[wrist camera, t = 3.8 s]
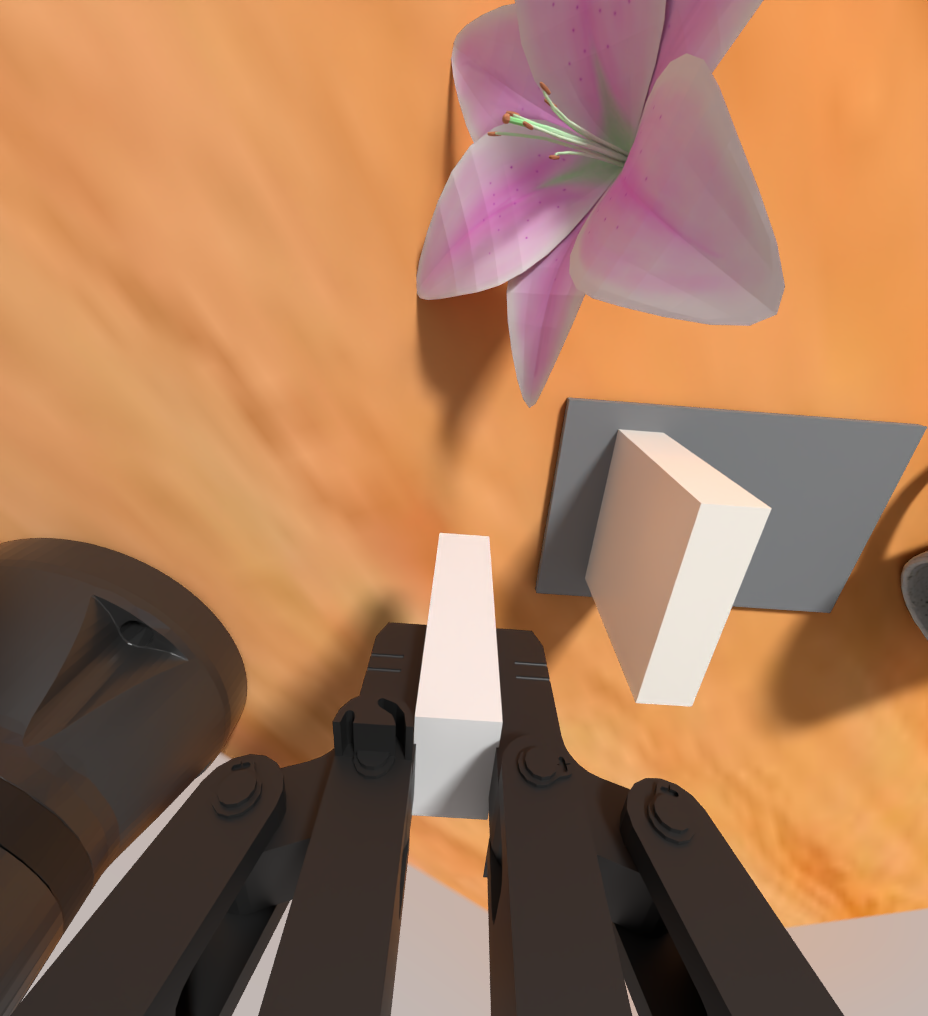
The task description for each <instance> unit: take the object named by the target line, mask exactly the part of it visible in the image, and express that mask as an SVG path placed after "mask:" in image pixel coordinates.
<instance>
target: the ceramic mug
mask: <svg viewBox="0 0 928 1016" xmlns="http://www.w3.org/2000/svg"><path fill="white" fill-rule="evenodd" d="M901 589H902V594H903V598H904V600H905V603H906V606H907V608H908V610H909V612H910V614H911V616H912V618H913V620H914V622H915V623H916V625H917V626H918V627H919V628H920V630H921V632H922V633H923V635H924V636H925V638H926V639H927V640H928V551H926V552H923V553H921V554H919V555H917V556H914V557H913V558H912V559H910V560H909V561H908V562H907V563H906V564H905V565H904V567H903V571H902V574H901Z"/></svg>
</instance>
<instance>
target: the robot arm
mask: <svg viewBox="0 0 928 1016" xmlns="http://www.w3.org/2000/svg"><path fill="white" fill-rule="evenodd" d="M546 664H547V663H546V658H545V653H544V649H543V646H542V644H541V643H540V641H539V640H538V639H537V637H536V636H535V635H534V633H533V632H532V631H526V630H512V629H497V628H496V624H495V610H494V596H493V582H492V569H491V555H490V541H489V536H476V535H462V534H448V533H440V535H439V542H438V549H437V557H436V564H435V572H434V579H433V586H432V594H431V601H430V608H429V616H428V623H427V625H419V624H405V623H390V622H389V623H388V624H387V625H386V626H385V627H384V628H383V629H382V631H381V632H380V633H379V634H378V635H377V636H376V639H375V643H374V646H373V650H372V654H371V657H370V660H369V664H368V669H367V671H366V675H365V678H364V682H363V685H362V689H361V692H360V696H358V697H356V698H353V699H351V700H350V701H349V702H348V703H346V704H345V705H344V706H343V707H342V708H340V710H339V711H338V713H337V715H336V717H335V718H334V720H333V734H334V749H333V750H332V751H330V752H329V753H327V754H325V755H323V756H322V757H320V758H317V759H314V760H311V761H308V762H304V763H300V764H296V765H292V766H288V767H284V768H279V766H278V764H277V762H275V761H273V760H272V759H270V758H268V757H267V756H262V755H253V754H250V755H245V756H241V757H237V758H233V759H231V760H230V761H228V762H226V763H224V764H222V765H220V766H219V767H217V768H216V769H215V770H214V771H213V772H211V773H210V775H208V776H207V777H206V778H205V779H204V780H203V781H202V782H201V783H200V785H199V786H198V787H197V788H196V790H195V791H194V792H193V793H192V794H191V796H190V797H189V798H188V799H187V800H186V802H185V803H184V804H183V805H182V807H181V808H180V809H179V810H178V811H177V813H176V814H175V815H174V816H173V817H172V819H171V820H170V821H169V823H168V824H167V825H166V826H165V827H164V828H163V830H162V831H161V832H160V833H159V835H158V836H157V837H156V838H155V839H154V841H153V842H152V843H151V844H150V846H149V847H148V848H147V849H146V850H145V852H144V853H143V854H142V856H141V857H140V858H139V859H138V860H137V862H136V863H135V864H134V865H133V866H132V868H131V869H130V870H129V871H128V873H127V874H126V875H125V876H124V877H123V879H122V880H121V881H120V882H119V883H118V885H117V886H116V887H115V888H114V890H113V891H112V892H111V893H110V894H109V896H108V897H107V898H106V899H105V900H104V902H103V903H102V904H101V905H100V907H99V908H98V909H97V910H96V911H95V913H94V914H93V915H92V916H91V918H90V919H89V920H88V921H87V922H86V924H85V925H84V926H83V927H82V929H81V930H80V931H79V932H78V934H77V935H76V936H75V937H74V938H73V940H72V941H71V942H70V944H68V946H67V947H66V948H65V949H64V950H63V952H62V953H61V954H60V955H59V957H58V958H57V959H56V960H55V962H54V963H53V964H52V965H51V966H50V968H49V969H48V970H47V971H46V972H45V974H44V975H43V976H42V977H41V979H40V980H39V981H38V982H37V983H36V985H35V986H34V987H33V988H32V990H31V991H30V992H29V993H28V995H27V996H26V997H25V998H24V999H23V997H24V996H25V994H26V993H27V991H28V990H29V988H30V986H31V985H32V983H33V982H34V980H35V978H36V977H37V975H38V974H39V972H40V971H41V969H42V967H43V966H44V964H45V963H46V961H47V960H48V958H49V956H50V955H51V953H52V952H53V950H54V948H55V947H56V945H57V944H58V942H59V940H60V939H61V937H62V935H63V934H64V932H65V931H66V929H67V928H68V926H69V925H70V923H71V922H72V920H73V918H74V917H75V915H76V914H77V912H78V911H79V909H80V907H81V906H82V904H83V903H84V901H85V900H86V898H87V896H88V895H89V893H90V892H91V890H92V889H93V887H94V886H95V884H96V883H97V881H98V879H99V878H100V877H101V875H102V874H103V873H104V871H105V870H106V869H107V868H108V867H109V865H110V864H111V863H112V862H113V861H114V860H115V859H116V858H117V857H118V856H119V855H120V854H121V853H122V852H123V851H124V850H125V849H126V848H127V847H128V846H129V845H130V844H131V843H132V842H133V841H134V840H135V839H136V838H137V837H138V836H139V835H140V834H141V833H143V832H144V830H146V829H147V827H149V826H150V825H151V824H152V823H153V822H154V821H155V820H156V819H157V818H158V817H159V816H160V815H161V814H162V812H164V811H165V809H166V808H167V807H168V806H169V805H170V804H171V803H172V802H173V801H174V800H175V799H176V798H177V797H178V796H179V795H180V794H181V793H182V792H183V791H184V790H185V789H186V788H187V787H188V786H189V785H190V783H191V782H192V781H193V780H194V779H196V778H197V777H198V776H200V775H201V774H202V773H203V772H204V771H205V770H206V769H207V768H208V767H209V766H210V765H211V764H212V762H213V761H214V760H215V758H216V757H217V756H218V755H219V753H220V752H221V750H222V749H223V747H224V745H225V743H226V741H227V740H228V738H229V736H230V734H231V732H232V731H233V729H234V727H235V725H236V723H237V721H238V720H239V718H240V716H241V714H242V711H243V709H244V705H245V701H246V696H247V679H246V672H245V668H244V664H243V661H242V658H241V656H240V653H239V651H238V649H237V647H236V645H235V643H234V641H233V639H232V638H231V636H230V635H229V633H228V631H227V630H226V629H225V627H224V626H223V625H222V623H221V622H220V621H219V620H218V618H217V617H216V616H215V615H214V614H213V613H212V612H211V611H210V610H209V608H208V607H207V606H206V605H204V604H203V603H202V602H201V601H200V600H199V599H198V598H197V597H196V596H194V595H193V594H192V593H191V592H190V591H188V590H187V589H186V588H184V587H183V586H182V585H180V584H179V583H178V582H176V581H175V580H173V579H172V578H170V577H169V576H167V575H165V574H163V573H162V572H160V571H158V570H157V569H155V568H153V567H151V566H149V565H147V564H145V563H143V562H141V561H139V560H137V559H134V558H132V557H130V556H127V555H124V554H122V553H119V552H116V551H113V550H110V549H107V548H104V547H100V546H97V545H93V544H88V543H84V542H78V541H72V540H65V539H53V538H30V539H20V540H14V541H8V542H4V543H1V544H0V1016H232V1014H233V1012H234V1010H235V1008H236V1006H237V1004H238V1002H239V1000H240V998H241V996H242V994H243V992H244V990H245V988H246V986H247V984H248V982H249V980H250V978H251V976H252V975H253V973H254V971H255V969H256V967H257V964H258V963H259V961H260V959H261V956H262V954H263V953H264V951H265V949H266V947H267V945H268V943H269V941H270V939H271V937H272V935H273V933H274V931H275V929H276V927H277V925H278V923H279V921H280V919H281V917H282V915H283V913H284V911H285V909H286V907H287V905H288V903H289V901H290V900H292V899H293V900H292V903H291V907H290V910H289V913H288V917H287V920H286V924H285V927H284V930H283V934H282V937H281V940H280V944H279V947H278V950H277V954H276V957H275V961H274V964H273V967H272V971H271V974H270V978H269V981H268V985H267V988H266V991H265V994H264V998H263V1001H262V1005H261V1008H260V1012H259V1015H258V1016H391V1007H392V998H393V989H394V980H395V971H396V962H397V953H398V944H399V935H400V926H401V917H402V908H403V899H404V890H405V881H406V871H407V863H408V854H409V836H410V826H411V817H412V815H419V816H435V817H451V818H467V819H484V820H487V819H488V813H489V828H490V838H489V844H488V850H487V856H486V862H485V868H484V875H483V877H488V914H489V950H490V951H489V954H490V993H491V1016H632V1013H631V1008H630V1004H629V999H628V995H627V990H626V986H625V982H626V985H627V988H628V990H629V993H630V995H631V998H632V1000H633V1003H634V1005H635V1007H636V1010H637V1013H638V1015H639V1016H844V1015H843V1013H842V1012H841V1011H840V1009H839V1007H838V1006H837V1004H836V1003H835V1002H834V1000H833V999H832V997H831V996H830V994H829V993H828V991H827V990H826V988H825V987H824V985H823V984H822V982H821V981H820V979H819V978H818V976H817V975H816V973H815V972H814V971H813V969H812V968H811V966H810V965H809V963H808V962H807V960H806V959H805V957H804V956H803V955H802V953H801V951H800V950H799V948H798V947H797V945H796V944H795V942H794V941H793V940H792V938H791V936H790V935H789V933H788V932H787V931H786V929H785V928H784V926H783V925H782V923H781V922H780V920H779V919H778V917H777V916H776V914H775V913H774V911H773V910H772V908H771V907H770V905H769V904H768V902H767V901H766V899H765V898H764V897H763V895H762V894H761V892H760V891H759V889H758V888H757V886H756V885H755V883H754V882H753V880H752V879H751V877H750V876H749V874H748V873H747V871H746V870H745V868H744V867H743V865H742V864H741V863H740V861H739V860H738V858H737V857H736V855H735V854H734V852H733V851H732V849H731V848H730V846H729V845H728V843H727V842H726V840H725V839H724V837H723V836H722V834H721V833H720V831H719V830H718V829H717V827H716V826H715V824H714V823H713V821H712V820H711V818H710V817H709V815H708V814H707V812H706V811H705V810H704V808H703V807H702V806H701V805H700V804H699V803H698V802H697V800H696V799H695V798H694V797H693V796H692V795H691V794H689V793H688V792H687V791H685V790H684V789H682V788H681V787H679V786H678V785H677V784H674V783H671V782H668V781H666V780H663V779H658V778H645V779H643V780H641V781H639V782H637V783H635V784H634V785H633V787H632V788H631V790H630V789H628V788H625V787H622V786H620V785H617V784H614V783H612V782H609V781H607V780H604V779H601V778H599V777H597V776H595V775H593V774H591V773H589V772H588V771H587V770H585V769H584V768H583V767H581V766H580V765H579V764H578V763H577V762H576V761H575V760H574V759H573V758H572V756H571V755H570V754H569V752H568V751H567V749H566V747H565V745H564V742H563V739H562V737H561V732H560V727H559V722H558V717H557V712H556V707H555V702H554V698H553V693H552V688H551V683H550V681H549V673H548V668H547V667H546ZM624 980H625V981H624ZM22 999H23V1001H22ZM21 1001H22V1002H21ZM20 1002H21V1003H20Z"/></svg>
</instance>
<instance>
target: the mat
mask: <svg viewBox="0 0 928 1016" xmlns="http://www.w3.org/2000/svg"><path fill="white" fill-rule="evenodd" d="M926 428H927V427H926V426H922V425H919V424H907V423H894V422H881V421H868V420H855V419H842V418H829V417H816V416H803V415H790V414H777V413H763V412H750V411H737V410H724V409H711V408H698V407H685V406H672V405H659V404H646V403H633V402H620V401H606V400H593V399H580V398H567V404H566V410H565V415H564V421H563V427H562V433H561V439H560V445H559V451H558V457H557V463H556V469H555V474H554V480H553V486H552V492H551V498H550V504H549V510H548V516H547V522H546V528H545V534H544V539H543V545H542V551H541V557H540V563H539V569H538V575H537V581H536V587H535V589H536V593H543V594H558V595H573V596H587V597H592V594H591V592H590V589H589V587H588V585H587V582H586V580H585V576H586V571H587V567H588V562H589V558H590V553H591V549H592V544H593V540H594V535H595V531H596V527H597V522H598V518H599V513H600V509H601V504H602V500H603V495H604V491H605V486H606V482H607V477H608V473H609V468H610V464H611V459H612V455H613V451H614V446H615V442H616V437H617V433H618V429H621V430H635V431H648V432H661V433H665V434H666V435H668V436H669V437H670V438H672V439H673V440H675V441H676V442H678V443H679V444H680V445H682V446H683V447H685V448H686V449H688V450H689V451H690V452H692V453H693V454H695V455H696V456H698V457H699V458H700V459H702V460H703V461H705V462H706V463H708V464H709V465H710V466H712V467H713V468H715V469H716V470H718V471H719V472H720V473H722V474H723V475H725V476H726V477H728V478H729V479H730V480H732V481H733V482H735V483H736V484H738V485H739V486H740V487H742V488H743V489H745V490H746V491H748V492H749V493H750V494H752V495H753V496H755V497H756V498H758V499H759V500H760V501H762V502H763V503H765V504H766V505H768V506H769V507H770V508H772V509H771V511H770V514H769V516H768V519H767V521H766V524H765V526H764V529H763V531H762V534H761V536H760V538H759V541H758V543H757V546H756V548H755V551H754V553H753V556H752V558H751V561H750V563H749V566H748V568H747V571H746V573H745V576H744V578H743V581H742V583H741V586H740V588H739V591H738V593H737V596H736V598H735V601H734V603H733V605H732V606H735V607H750V608H765V609H779V610H794V611H809V612H824V613H830V612H831V610H832V608H833V607H834V605H835V603H836V601H837V599H838V597H839V595H840V593H841V591H842V589H843V587H844V585H845V584H846V582H847V580H848V578H849V576H850V574H851V572H852V570H853V568H854V566H855V564H856V562H857V561H858V559H859V557H860V555H861V553H862V551H863V549H864V547H865V545H866V543H867V541H868V539H869V538H870V536H871V534H872V532H873V530H874V528H875V526H876V524H877V522H878V520H879V518H880V516H881V515H882V513H883V511H884V509H885V507H886V505H887V503H888V501H889V499H890V497H891V495H892V493H893V492H894V490H895V488H896V486H897V484H898V482H899V480H900V478H901V476H902V474H903V472H904V470H905V469H906V467H907V465H908V463H909V461H910V459H911V457H912V455H913V453H914V451H915V449H916V447H917V446H918V444H919V442H920V440H921V438H922V436H923V434H924V432H925V430H926Z"/></svg>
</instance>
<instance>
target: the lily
mask: <svg viewBox="0 0 928 1016" xmlns="http://www.w3.org/2000/svg"><path fill="white" fill-rule="evenodd" d="M762 1H763V0H515V4H510V5H505V6H501V7H499V8H497V9H494V10H492V11H490V12H488V13H485V14H483V15H481V16H480V17H478V18H477V19H475V20H474V21H472V22H470V23H469V24H467V25H466V26H465V27H464V28H463V29H462V30H461V31H460V32H459V33H458V34H457V36H456V39H455V41H454V46H453V52H452V57H451V60H452V69H453V78H454V82H455V86H456V91H457V95H458V100H459V103H460V107H461V110H462V113H463V116H464V119H465V123H466V126H467V128H468V131H469V133H470V135H471V137H472V140H473V142H474V144H472V145H471V146H470V147H469V148H468V150H467V151H466V152H465V154H464V155H463V157H462V158H461V159H460V161H459V162H458V164H457V165H456V166H455V168H454V169H453V171H452V172H451V174H450V177H449V179H448V181H447V183H446V185H445V187H444V189H443V192H442V194H441V196H440V198H439V200H438V203H437V205H436V208H435V211H434V214H433V217H432V220H431V223H430V226H429V228H428V231H427V235H426V238H425V242H424V246H423V249H422V253H421V257H420V260H419V266H418V272H417V294H418V296H419V297H420V298H421V299H426V300H434V299H443V298H448V297H454V296H459V295H465V294H471V293H476V292H480V291H483V290H486V289H490V288H493V287H496V286H499V285H501V284H503V283H505V282H506V281H508V286H507V314H508V326H509V334H510V341H511V349H512V355H513V360H514V365H515V370H516V375H517V380H518V384H519V387H520V390H521V393H522V396H523V400H524V401H525V402H526V404H527V405H528V407H529V408H530V407H531V406H533V405H534V404H536V402H537V400H538V398H539V396H540V394H541V392H542V390H543V388H544V386H545V384H546V382H547V379H548V377H549V375H550V373H551V371H552V369H553V367H554V364H555V362H556V360H557V358H558V356H559V353H560V351H561V349H562V347H563V344H564V342H565V340H566V338H567V335H568V333H569V331H570V329H571V326H572V324H573V322H574V319H575V317H576V315H577V312H578V310H579V308H580V305H581V303H582V301H583V298H584V296H585V294H586V295H588V296H590V297H591V298H593V299H597V300H600V301H604V302H607V303H610V304H614V305H617V306H621V307H625V308H629V309H633V310H637V311H641V312H646V313H650V314H654V315H658V316H662V317H668V318H674V319H680V320H686V321H691V322H697V323H703V324H709V325H747V326H750V325H752V324H754V323H757V322H759V321H762V320H764V319H767V318H769V317H772V316H774V315H776V314H777V312H778V308H779V305H780V301H781V298H782V295H783V291H784V288H785V284H784V279H783V273H782V268H781V262H780V257H779V251H778V246H777V242H776V239H775V236H774V233H773V230H772V227H771V224H770V221H769V218H768V215H767V212H766V210H765V207H764V204H763V201H762V198H761V195H760V192H759V189H758V186H757V184H756V181H755V179H754V176H753V173H752V171H751V168H750V166H749V163H748V161H747V158H746V156H745V153H744V150H743V148H742V145H741V143H740V140H739V138H738V135H737V133H736V130H735V127H734V125H733V122H732V119H731V117H730V114H729V111H728V109H727V106H726V104H725V101H724V98H723V96H722V93H721V90H720V88H719V86H718V84H717V82H716V80H715V78H714V77H713V75H712V72H713V71H714V69H715V68H716V66H717V65H718V64H719V62H720V61H721V59H722V58H723V57H724V55H725V54H726V52H727V51H728V50H729V48H730V47H731V45H732V44H733V42H734V41H735V40H736V38H737V37H738V35H739V34H740V33H741V31H742V30H743V28H744V27H745V26H746V24H747V23H748V21H749V20H750V18H751V17H752V16H753V14H754V13H755V11H756V10H757V9H758V7H759V6H760V4H761V3H762Z"/></svg>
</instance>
